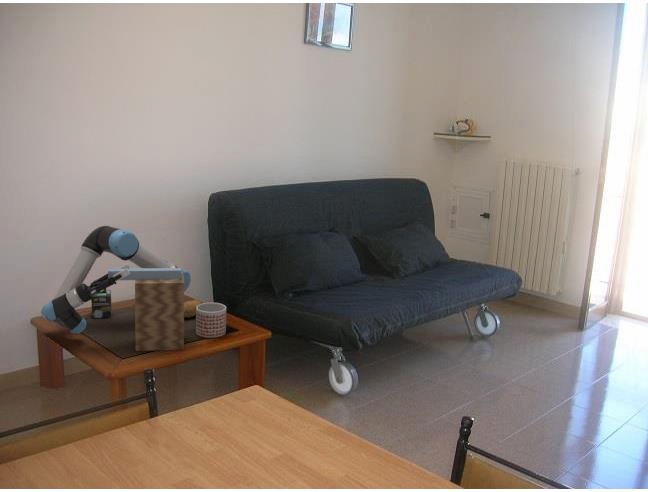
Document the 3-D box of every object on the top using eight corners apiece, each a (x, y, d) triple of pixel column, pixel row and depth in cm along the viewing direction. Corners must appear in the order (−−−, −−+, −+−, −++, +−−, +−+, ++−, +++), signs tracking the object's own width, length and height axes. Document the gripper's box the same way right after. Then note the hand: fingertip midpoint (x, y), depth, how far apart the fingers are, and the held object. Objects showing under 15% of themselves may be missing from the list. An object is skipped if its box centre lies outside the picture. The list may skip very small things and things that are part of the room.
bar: (108, 280, 271) (107, 271, 270) (109, 277, 274) (108, 268, 274) (181, 279, 277) (181, 270, 277) (181, 276, 281) (181, 267, 280)
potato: (206, 315, 323) (206, 300, 321) (185, 322, 312) (185, 306, 310) (193, 310, 328) (193, 295, 327) (171, 317, 317) (171, 302, 315)
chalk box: (111, 311, 321) (111, 283, 318) (111, 317, 312) (111, 288, 309) (92, 312, 318) (91, 283, 315) (91, 318, 310) (90, 289, 306)
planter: (191, 330, 303) (192, 304, 300) (219, 326, 309) (220, 301, 306) (201, 340, 291) (201, 313, 288) (230, 336, 298) (230, 310, 295)
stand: (135, 350, 275) (134, 283, 268) (137, 338, 289) (136, 274, 282) (183, 349, 280) (184, 282, 273) (183, 337, 293) (183, 273, 286)
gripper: (71, 295, 261) (122, 267, 263) (78, 281, 280) (125, 255, 282) (82, 310, 263) (132, 282, 265) (88, 295, 282) (135, 269, 284)
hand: (129, 268), depth 273 cm, fingers open, 7 cm apart
